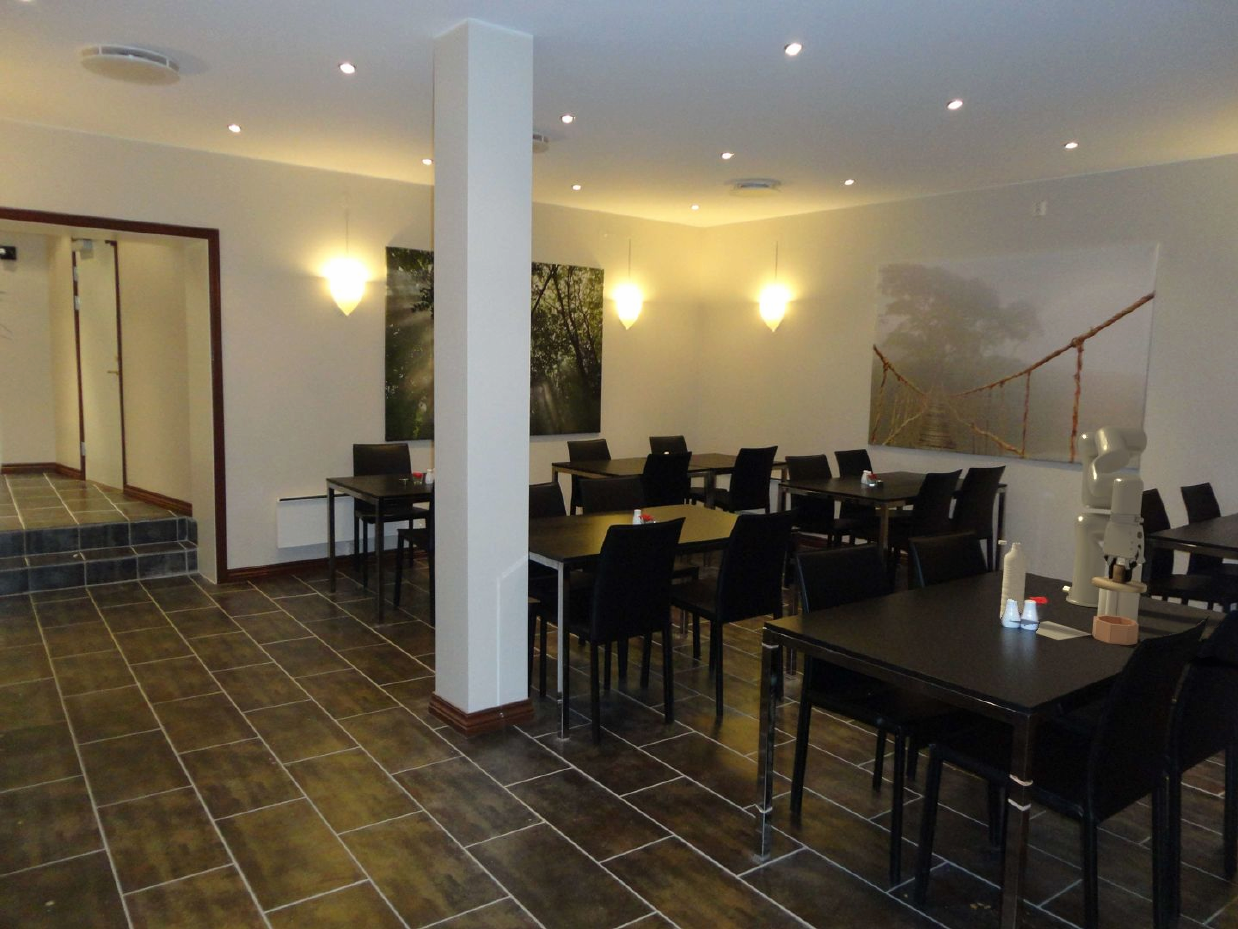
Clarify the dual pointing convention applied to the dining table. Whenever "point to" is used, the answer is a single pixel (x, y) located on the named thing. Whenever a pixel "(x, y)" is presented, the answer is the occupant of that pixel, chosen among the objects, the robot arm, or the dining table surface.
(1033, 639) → the dining table surface
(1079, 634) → the mat
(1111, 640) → the bowl
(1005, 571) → the water bottle
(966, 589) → the dining table surface
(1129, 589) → the lid
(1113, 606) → the candle
